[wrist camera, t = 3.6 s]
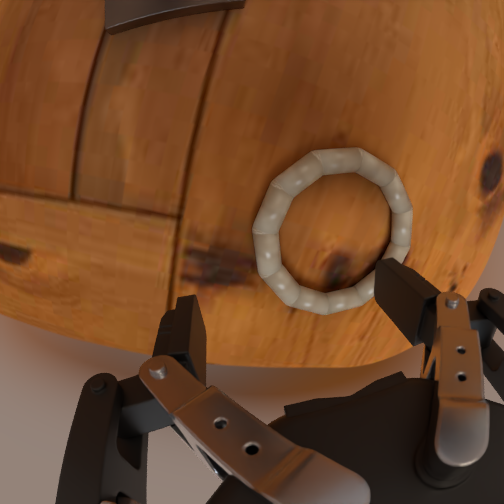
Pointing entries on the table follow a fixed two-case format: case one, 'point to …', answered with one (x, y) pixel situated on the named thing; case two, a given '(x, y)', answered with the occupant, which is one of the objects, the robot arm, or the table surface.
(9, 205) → the table surface
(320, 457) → the robot arm
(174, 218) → the table surface
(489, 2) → the table surface
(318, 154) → the ring
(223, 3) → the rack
